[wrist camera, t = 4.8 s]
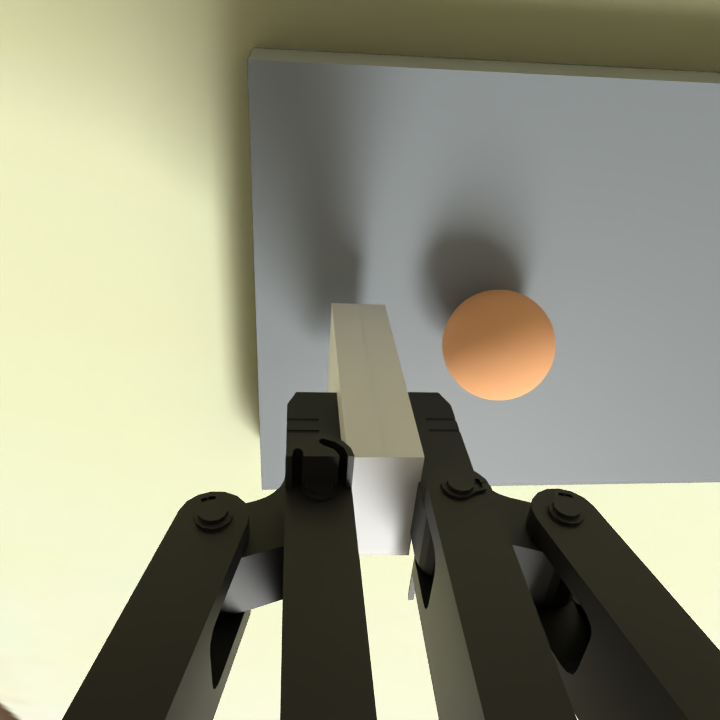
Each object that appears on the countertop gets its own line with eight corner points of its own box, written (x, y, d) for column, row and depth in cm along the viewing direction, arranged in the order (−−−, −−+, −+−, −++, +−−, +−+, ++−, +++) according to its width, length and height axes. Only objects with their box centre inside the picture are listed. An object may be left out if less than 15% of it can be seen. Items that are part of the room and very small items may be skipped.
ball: (439, 270, 19) (463, 322, 16) (544, 272, 19) (585, 323, 16) (427, 362, 20) (447, 423, 18) (523, 362, 21) (558, 422, 18)
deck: (264, 444, 25) (261, 489, 23) (253, 47, 17) (247, 59, 15) (914, 438, 28) (965, 478, 25) (1141, 94, 20) (1240, 110, 18)
